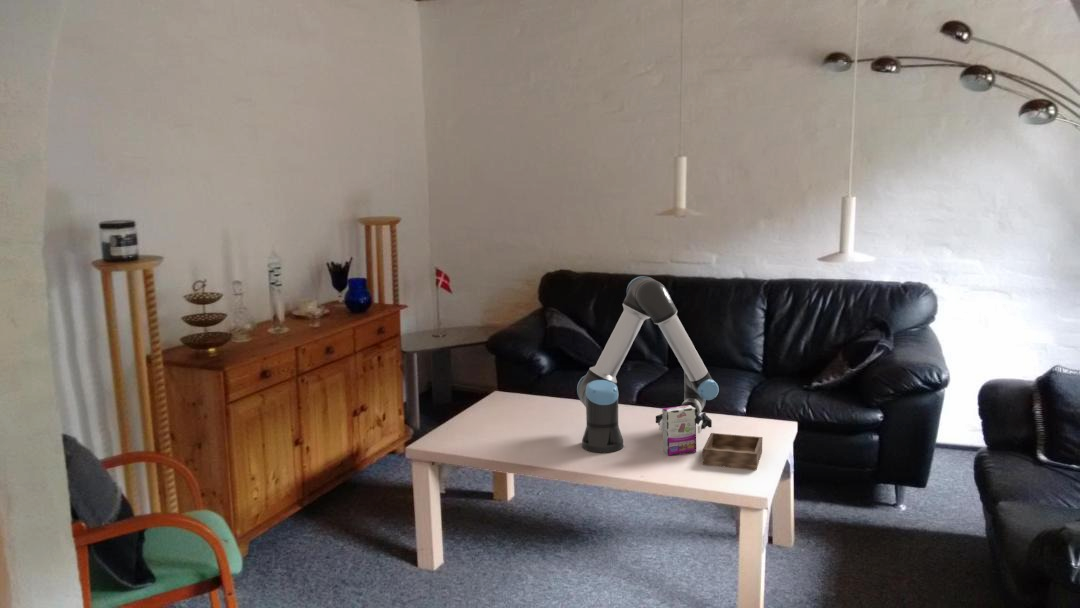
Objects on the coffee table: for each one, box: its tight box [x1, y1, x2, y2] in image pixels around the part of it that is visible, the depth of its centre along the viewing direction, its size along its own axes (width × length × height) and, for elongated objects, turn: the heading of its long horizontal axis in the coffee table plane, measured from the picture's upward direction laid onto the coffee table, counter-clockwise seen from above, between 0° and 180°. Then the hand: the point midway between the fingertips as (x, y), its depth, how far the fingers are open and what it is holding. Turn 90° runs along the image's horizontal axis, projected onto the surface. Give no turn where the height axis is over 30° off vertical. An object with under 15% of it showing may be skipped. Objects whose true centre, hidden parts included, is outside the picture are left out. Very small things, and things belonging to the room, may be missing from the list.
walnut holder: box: [702, 432, 763, 471], centre depth 300 cm, size 18×18×6 cm
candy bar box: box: [661, 405, 697, 457], centre depth 306 cm, size 11×5×16 cm, turn 105°
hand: (679, 428), depth 304 cm, fingers open, 13 cm apart
